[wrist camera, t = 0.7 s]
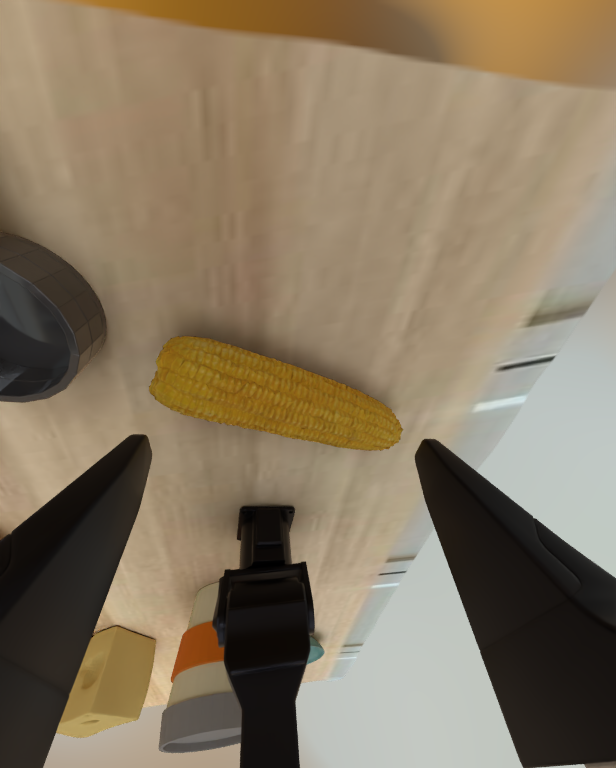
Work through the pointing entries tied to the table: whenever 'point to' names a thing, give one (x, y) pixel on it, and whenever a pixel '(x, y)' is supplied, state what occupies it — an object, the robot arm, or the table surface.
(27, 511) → the table surface
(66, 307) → the pan
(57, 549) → the robot arm
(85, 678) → the cheese
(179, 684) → the reusable coffee cup
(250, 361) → the food
